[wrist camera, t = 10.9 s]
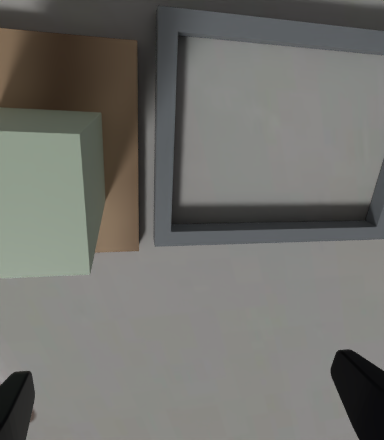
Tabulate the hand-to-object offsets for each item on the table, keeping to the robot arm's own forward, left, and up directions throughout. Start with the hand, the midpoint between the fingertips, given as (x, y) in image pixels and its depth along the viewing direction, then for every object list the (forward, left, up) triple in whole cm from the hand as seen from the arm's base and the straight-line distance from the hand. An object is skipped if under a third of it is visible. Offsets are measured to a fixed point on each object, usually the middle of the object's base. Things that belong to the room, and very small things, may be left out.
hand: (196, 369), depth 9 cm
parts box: (+6, -4, -12) cm, 14 cm away
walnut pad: (+6, -4, -13) cm, 14 cm away
